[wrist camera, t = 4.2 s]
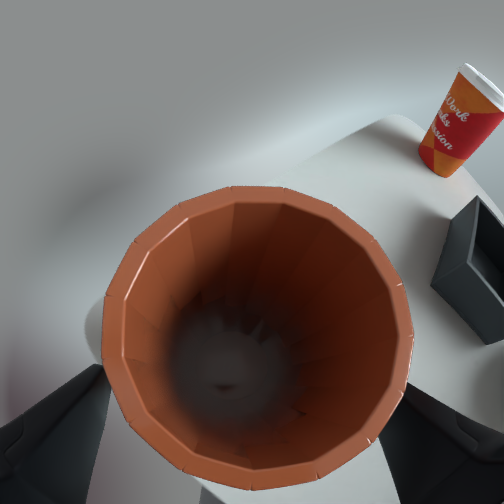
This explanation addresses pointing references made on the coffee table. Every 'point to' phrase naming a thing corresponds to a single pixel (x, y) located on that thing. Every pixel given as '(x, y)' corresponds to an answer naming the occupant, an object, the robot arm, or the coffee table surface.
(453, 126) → the coffee cup
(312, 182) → the coffee table surface
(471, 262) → the tub
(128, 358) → the tumbler
